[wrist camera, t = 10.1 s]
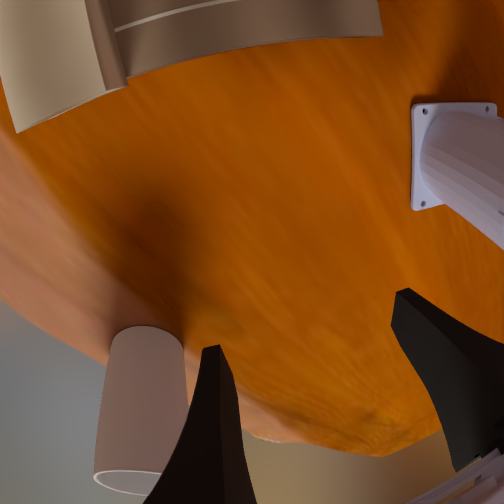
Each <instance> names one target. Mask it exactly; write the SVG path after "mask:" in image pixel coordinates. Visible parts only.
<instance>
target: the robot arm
mask: <svg viewBox="0 0 504 504" xmlns="http://www.w3.org/2000/svg"><path fill="white" fill-rule="evenodd" d="M423 109H425V112H424V113H423V112H422V111H423ZM485 109H486V110H485ZM411 120H412V185H411V208H412V209H413V210H415V211H418V210H422V209H426V208H430V207H433V206H437V205H441V204H446V205H448V206H449V207H450V208H452V209H453V210H454V211H456V212H457V213H458V214H460V215H461V216H462V217H464V218H465V219H466V220H467V221H469V222H470V223H471V224H473V225H474V226H475V227H476V228H478V229H479V230H480V231H481V232H483V233H484V234H485V235H486V236H487V237H489V238H490V239H491V240H492V241H493V242H495V243H496V244H497V245H498V246H499V247H500V248H502V249H503V250H504V119H503V118H501V117H498V116H497V106H496V104H494V103H487V102H445V103H420V104H414V105H413V106H412V108H411ZM422 201H423V203H422V204H421V202H422ZM391 327H392V329H393V332H394V334H395V336H396V338H397V340H398V342H399V344H400V346H401V348H402V349H403V351H404V353H405V354H406V356H407V358H408V359H409V361H410V362H411V364H412V366H413V367H414V369H415V370H416V372H417V374H418V375H419V377H420V378H421V380H422V382H423V383H424V385H425V387H426V389H427V391H428V393H429V395H430V397H431V400H432V402H433V404H434V406H435V409H436V411H437V414H438V417H439V419H440V422H441V425H442V428H443V431H444V434H445V437H446V440H447V444H448V447H449V452H450V455H451V460H452V465H453V467H454V469H455V471H456V472H458V471H460V470H461V469H463V468H465V467H466V466H468V465H469V464H471V463H472V462H474V461H475V460H477V459H478V458H480V457H481V460H479V461H478V462H476V463H475V464H473V465H472V466H470V467H469V468H467V469H466V470H464V471H462V472H461V473H459V474H458V475H456V476H454V477H453V478H451V479H449V480H448V481H446V482H444V483H442V484H441V485H439V486H437V487H435V488H433V489H431V490H429V491H428V492H426V493H424V494H422V495H420V496H418V497H416V498H414V499H412V500H410V501H408V502H405V503H403V504H434V503H436V502H438V501H440V500H441V499H443V498H445V497H447V496H448V495H449V494H452V493H453V492H455V491H457V490H458V489H460V488H461V487H463V486H465V485H466V484H468V483H469V482H471V481H472V480H474V479H475V478H476V479H475V481H474V485H473V486H471V487H470V488H468V489H467V490H465V491H463V492H461V493H460V494H458V495H456V496H455V497H453V498H452V499H450V500H449V501H447V502H445V503H444V504H504V344H502V343H500V342H497V341H495V340H493V339H491V338H489V337H487V336H485V335H483V334H481V333H479V332H477V331H475V330H473V329H471V328H470V327H468V326H466V325H464V324H463V323H461V322H459V321H458V320H456V319H455V318H453V317H451V316H450V315H448V314H447V313H445V312H444V311H442V310H441V309H439V308H438V307H436V306H435V305H433V304H432V303H431V302H429V301H428V300H426V299H425V298H423V297H422V296H420V295H419V294H417V293H416V292H414V291H413V290H411V289H410V288H406V289H403V290H400V291H398V292H396V296H395V303H394V309H393V315H392V321H391ZM143 504H257V502H256V499H255V495H254V491H253V487H252V483H251V480H250V476H249V472H248V467H247V463H246V459H245V454H244V448H243V441H242V432H241V423H240V414H239V405H238V396H237V392H236V387H235V382H234V378H233V374H232V371H231V369H230V367H229V365H228V362H227V360H226V358H225V356H224V353H223V351H222V349H221V346H220V344H219V345H215V346H210V347H206V348H204V349H203V350H202V356H201V362H200V368H199V373H198V378H197V383H196V387H195V391H194V395H193V399H192V402H191V405H190V409H189V412H188V415H187V418H186V421H185V424H184V427H183V430H182V432H181V435H180V437H179V440H178V442H177V444H176V447H175V449H174V451H173V453H172V455H171V457H170V459H169V461H168V463H167V465H166V467H165V469H164V471H163V473H162V474H161V476H160V478H159V479H158V481H157V483H156V485H155V486H154V488H153V489H152V491H151V492H150V494H149V495H148V497H147V498H146V500H145V501H144V503H143Z"/></svg>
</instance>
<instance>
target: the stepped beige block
mask: <svg viewBox="0 0 504 504" xmlns="http://www.w3.org/2000/svg"><path fill="white" fill-rule="evenodd" d="M0 75H1V79H2V84H3V88H4V92H5V95H6V99H7V103H8V106H9V110H10V113H11V116H12V120H13V123H14V126H15V129H16V132H17V133H19V132H21V131H23V130H25V129H28V128H30V127H32V126H34V125H37V124H39V123H41V122H43V121H46V120H48V119H51V118H53V117H55V116H58V115H60V114H62V113H64V112H66V111H68V110H70V109H72V108H75V107H77V106H79V105H81V104H84V103H86V102H88V101H91V100H93V99H96V98H98V97H100V96H103V95H105V94H108V93H111V92H113V91H116V90H119V89H121V88H124V87H127V86H129V85H128V82H127V78H126V74H125V70H124V67H123V63H122V59H121V55H120V51H119V47H118V43H117V39H116V34H115V30H114V26H113V21H112V17H111V12H110V8H109V3H108V0H0Z"/></svg>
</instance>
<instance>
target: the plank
mask: <svg viewBox="0 0 504 504" xmlns="http://www.w3.org/2000/svg"><path fill="white" fill-rule="evenodd" d="M108 3H109V8H110V12H111V17H112V21H113V26H114V30H115V34H116V39H117V43H118V47H119V51H120V55H121V59H122V63H123V67H124V70H125V74H126V78H127V79H129V78H132V77H135V76H138V75H141V74H144V73H147V72H150V71H153V70H156V69H159V68H163V67H166V66H170V65H173V64H177V63H180V62H184V61H188V60H192V59H196V58H200V57H204V56H208V55H213V54H217V53H222V52H227V51H232V50H237V49H242V48H248V47H254V46H260V45H267V44H274V43H282V42H291V41H301V40H312V39H327V38H356V37H373V36H384V35H383V29H382V23H381V17H380V12H379V7H378V2H377V0H108Z"/></svg>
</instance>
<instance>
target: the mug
mask: <svg viewBox="0 0 504 504" xmlns="http://www.w3.org/2000/svg"><path fill="white" fill-rule="evenodd" d="M188 412H189V410H188V400H187V387H186V374H185V365H184V352H183V348H182V345H181V343H180V342H179V341H178V340H177V338H175V337H174V336H173V335H172V334H170V333H168V332H166V331H164V330H162V329H159V328H155V327H150V326H134V327H130V328H127V329H124V330H122V331H121V332H119V333H118V334H117V335H116V336H115V337H114V339H113V341H112V344H111V349H110V354H109V359H108V364H107V369H106V375H105V381H104V387H103V393H102V400H101V406H100V414H99V421H98V429H97V437H96V447H95V458H94V474H93V478H94V480H95V481H96V482H98V483H99V484H101V485H103V486H105V487H108V488H111V489H113V490H116V491H120V492H124V493H130V494H136V495H145V496H148V495H149V494H150V492H151V491H152V489H153V488H154V486H155V485H156V483H157V481H158V479H159V478H160V476H161V474H162V473H163V471H164V469H165V467H166V465H167V463H168V461H169V459H170V457H171V455H172V453H173V451H174V449H175V447H176V444H177V442H178V440H179V437H180V435H181V432H182V430H183V427H184V424H185V421H186V418H187V415H188Z"/></svg>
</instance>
